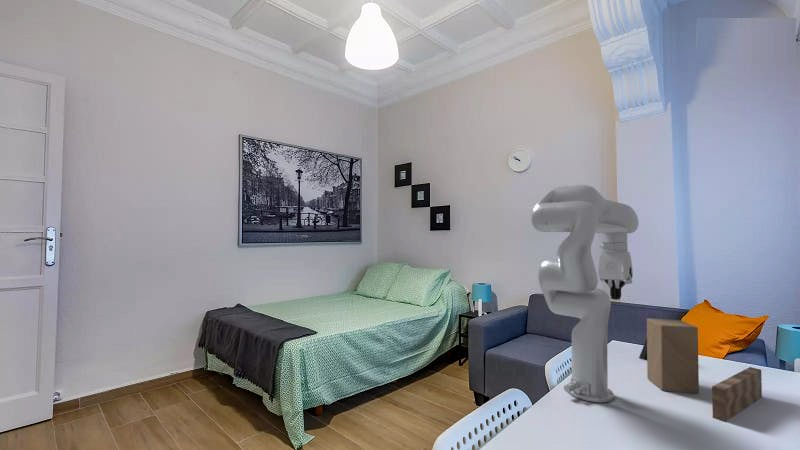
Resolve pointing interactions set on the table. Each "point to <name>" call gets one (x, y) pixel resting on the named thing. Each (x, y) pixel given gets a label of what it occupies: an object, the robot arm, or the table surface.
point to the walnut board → (736, 393)
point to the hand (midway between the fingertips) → (615, 298)
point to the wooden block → (672, 355)
